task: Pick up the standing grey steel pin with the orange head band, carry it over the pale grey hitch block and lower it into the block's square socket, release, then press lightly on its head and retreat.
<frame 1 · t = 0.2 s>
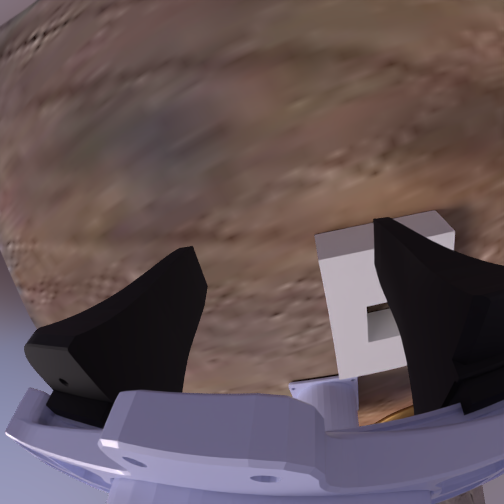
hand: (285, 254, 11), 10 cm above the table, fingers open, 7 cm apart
vase: (413, 424, 38), on the table
hitch block: (382, 292, 24), on the table
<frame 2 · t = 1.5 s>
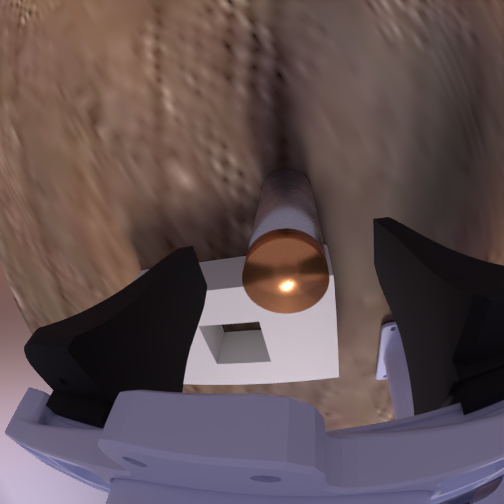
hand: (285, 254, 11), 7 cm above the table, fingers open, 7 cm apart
hitch block: (242, 312, 23), on the table
pin: (286, 192, 18), on the table
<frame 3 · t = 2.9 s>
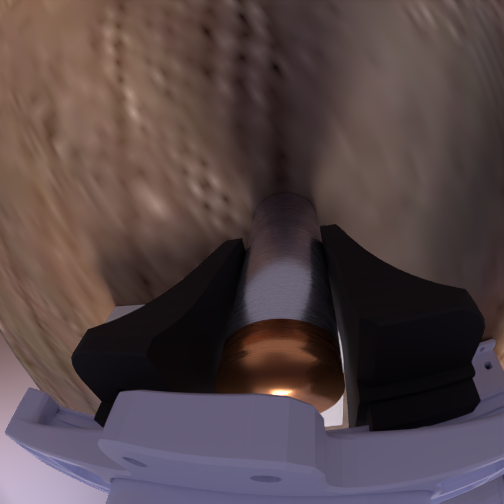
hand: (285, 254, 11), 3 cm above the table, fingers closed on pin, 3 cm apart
hitch block: (233, 354, 19), on the table
pin: (285, 222, 14), on the table, touching gripper
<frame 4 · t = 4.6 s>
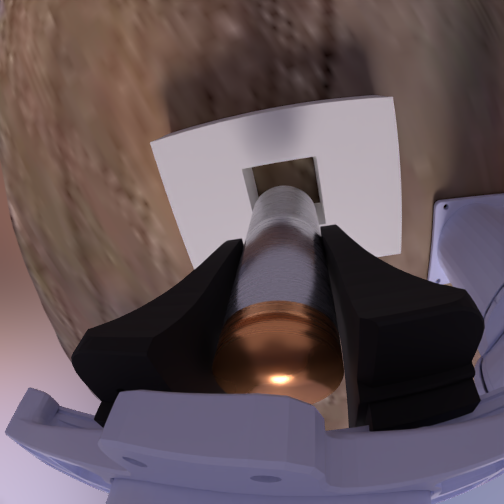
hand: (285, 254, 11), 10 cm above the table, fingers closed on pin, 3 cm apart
hitch block: (285, 179, 20), on the table
pin: (284, 215, 14), point 7 cm above the table, touching gripper
when the fingers open (5 cm above the table, at t = 6.2 s): pin drops 2 cm, resting in hitch block.
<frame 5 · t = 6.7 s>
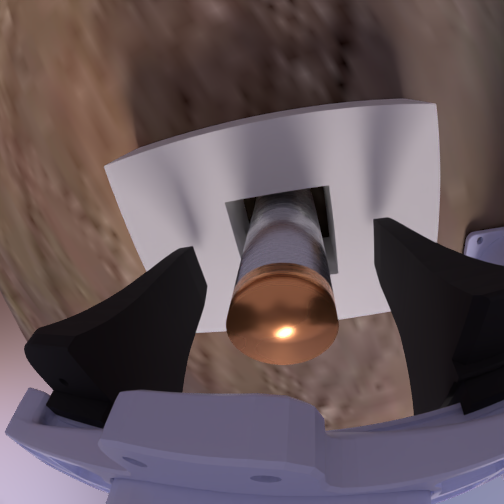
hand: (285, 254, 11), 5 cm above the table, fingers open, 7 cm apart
hitch block: (285, 207, 15), on the table
pin: (284, 203, 15), resting in hitch block
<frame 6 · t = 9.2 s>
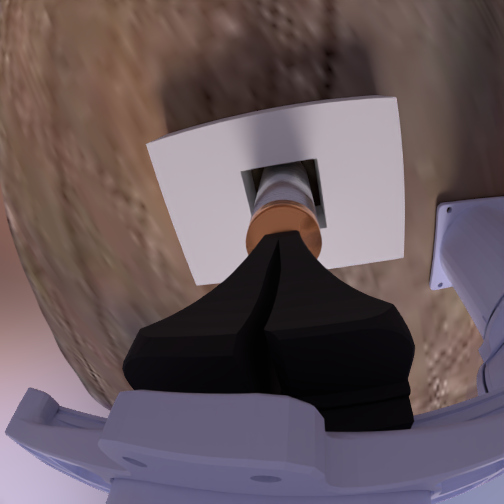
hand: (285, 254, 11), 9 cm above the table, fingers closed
hitch block: (285, 181, 19), on the table
pin: (284, 177, 19), resting in hitch block
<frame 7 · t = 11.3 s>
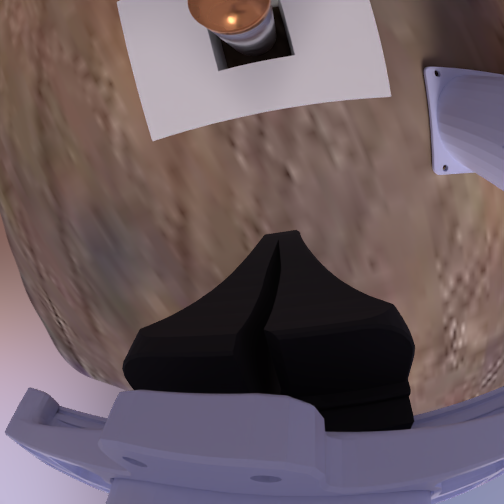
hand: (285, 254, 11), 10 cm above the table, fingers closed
hitch block: (253, 38, 15), on the table
pin: (252, 35, 15), resting in hitch block
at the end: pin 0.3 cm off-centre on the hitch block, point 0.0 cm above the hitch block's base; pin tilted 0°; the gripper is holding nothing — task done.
